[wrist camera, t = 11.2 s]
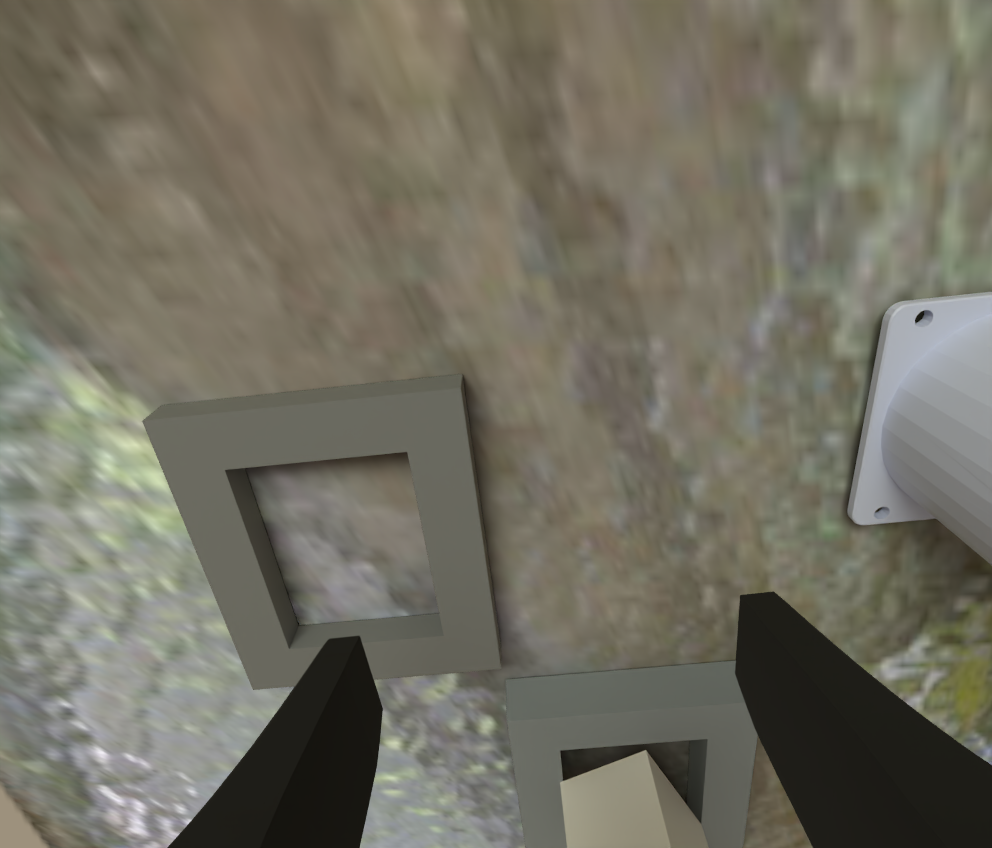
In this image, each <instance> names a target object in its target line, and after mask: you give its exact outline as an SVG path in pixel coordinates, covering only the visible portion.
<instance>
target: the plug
mask: <svg viewBox="0 0 992 848" xmlns="http://www.w3.org/2000/svg"><path fill="white" fill-rule="evenodd" d="M560 787H561V796H562V805H563V815H564V824H565V833H566V842H567V848H709V847H708V844H707V840H706V837H705V834H704V831H703V828H702V825H701V823H700V822H699V821H698V819H697V818H696V817H695V815H694V814H693V813H692V811H691V810H690V808H689V807H688V806H687V804H686V803H685V802H684V800H683V799H682V798H681V796H680V795H679V794H678V792H677V791H676V790H675V788H674V787H673V786H672V784H671V783H670V782H669V780H668V779H667V778H666V776H665V775H664V774H663V772H662V771H661V770H660V768H659V767H658V765H657V764H656V763H655V761H654V760H653V759H652V757H651V756H650V755H649V753H648V752H647V751H646V750H645V751H642V752H639V753H637V754H634V755H631V756H629V757H626V758H623V759H621V760H618V761H615V762H613V763H610V764H607V765H605V766H602V767H599V768H597V769H594V770H591V771H589V772H586V773H584V774H581V775H578V776H576V777H573V778H570V779H568V780H565V781H562V782H560Z"/></svg>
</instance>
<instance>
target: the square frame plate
mask: <svg viewBox="0 0 992 848" xmlns="http://www.w3.org/2000/svg"><path fill="white" fill-rule="evenodd" d="M142 422H143V424H144V426H145V429H146V431H147V434H148V436H149V438H150V441H151V443H152V446H153V448H154V451H155V453H156V455H157V458H158V460H159V463H160V465H161V468H162V470H163V472H164V475H165V477H166V480H167V482H168V485H169V487H170V489H171V492H172V494H173V497H174V499H175V502H176V504H177V506H178V509H179V511H180V514H181V516H182V518H183V521H184V523H185V526H186V528H187V531H188V533H189V535H190V538H191V540H192V543H193V545H194V548H195V550H196V552H197V555H198V557H199V560H200V562H201V565H202V567H203V569H204V572H205V574H206V577H207V579H208V582H209V584H210V586H211V589H212V591H213V594H214V596H215V598H216V601H217V603H218V606H219V608H220V611H221V613H222V615H223V618H224V620H225V623H226V625H227V628H228V630H229V632H230V635H231V637H232V640H233V642H234V645H235V647H236V649H237V652H238V654H239V657H240V659H241V662H242V664H243V666H244V669H245V671H246V674H247V676H248V678H249V681H250V683H251V686H252V688H253V690H256V689H268V688H280V687H292V686H296V684H297V683H298V681H299V680H300V679H301V677H302V676H303V674H304V673H305V671H306V670H307V668H308V667H309V665H310V664H311V663H312V661H313V660H314V658H315V657H316V655H317V654H318V652H319V651H320V650H321V648H322V647H323V645H324V644H325V643H326V641H327V640H328V639H331V638H340V637H350V636H359V635H360V638H361V641H362V644H363V647H364V651H365V654H366V657H367V660H368V663H369V667H370V670H371V673H372V676H373V679H374V680H375V679H387V678H399V677H411V676H423V675H435V674H447V673H459V672H471V671H483V670H495V669H501V643H500V636H499V629H498V622H497V615H496V608H495V601H494V593H493V586H492V579H491V572H490V565H489V558H488V551H487V544H486V537H485V530H484V523H483V516H482V509H481V502H480V495H479V488H478V481H477V474H476V466H475V459H474V452H473V445H472V438H471V431H470V424H469V417H468V410H467V403H466V396H465V389H464V382H463V375H462V374H457V375H448V376H438V377H429V378H419V379H409V380H400V381H390V382H381V383H371V384H361V385H352V386H342V387H333V388H323V389H313V390H304V391H294V392H285V393H275V394H265V395H256V396H246V397H236V398H227V399H217V400H208V401H198V402H188V403H179V404H169V405H162V406H160V407H159V408H158V409H157V410H155V411H154V412H153V413H151V414H150V415H149V416H148V417H146V418H145V419H144V420H143V421H142ZM401 452H407V454H408V459H409V464H410V469H411V474H412V479H413V484H414V489H415V494H416V499H417V504H418V509H419V514H420V519H421V524H422V529H423V534H424V540H425V545H426V550H427V555H428V560H429V565H430V570H431V575H432V580H433V585H434V590H435V595H436V600H437V605H438V610H439V614H428V615H416V616H405V617H394V618H382V619H371V620H359V621H348V622H337V623H325V624H314V625H302V626H298V623H297V620H296V618H295V615H294V612H293V609H292V606H291V603H290V600H289V597H288V594H287V591H286V588H285V585H284V582H283V579H282V576H281V574H280V571H279V568H278V565H277V562H276V559H275V556H274V553H273V550H272V547H271V544H270V541H269V538H268V535H267V532H266V530H265V527H264V524H263V521H262V518H261V515H260V512H259V509H258V506H257V503H256V500H255V497H254V494H253V491H252V489H251V486H250V483H249V480H248V477H247V474H246V471H245V468H249V467H259V466H270V465H280V464H290V463H300V462H310V461H320V460H330V459H340V458H350V457H360V456H371V455H381V454H391V453H401Z"/></svg>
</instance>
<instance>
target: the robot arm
mask: <svg viewBox="0 0 992 848" xmlns="http://www.w3.org/2000/svg"><path fill="white" fill-rule="evenodd" d="M921 311H924V316H923V318H922V319H921V320H920V321H919V322H917V323H915V318H916V316H917V315H918V314H919V313H920V312H921ZM880 507H882V509H881V510H879V511H878V512H875V511H876V510H877V509H878V508H880ZM847 512H848V516H849V517H850V518H851V519H852V520H853V522H854V523H856V524H858V525H872V524H883V523H894V522H905V521H916V520H927V519H937V520H938V521H939V522H941V523H942V524H943V525H944V526H945V527H947V528H948V529H949V530H950V531H951V532H953V533H954V534H955V535H956V536H957V537H959V538H960V539H961V540H962V541H963V542H964V543H966V544H967V545H968V546H969V547H970V548H972V549H973V550H974V551H975V552H976V553H978V554H979V555H980V556H981V557H982V558H983V559H985V560H986V561H987V562H988V563H989V564H991V565H992V292H984V293H975V294H965V295H956V296H946V297H937V298H928V299H918V300H909V301H901V302H898V303H895V304H894V305H892V306H891V307H890V308H889V309H888V310H887V311H886V313H885V315H884V317H883V321H882V326H881V332H880V337H879V342H878V348H877V353H876V359H875V364H874V369H873V375H872V380H871V386H870V391H869V396H868V402H867V407H866V412H865V418H864V423H863V429H862V434H861V439H860V445H859V450H858V456H857V461H856V466H855V472H854V477H853V483H852V488H851V493H850V499H849V504H848V509H847ZM735 675H736V678H737V681H738V684H739V687H740V689H741V692H742V695H743V698H744V701H745V704H746V706H747V709H748V712H749V714H750V717H751V720H752V722H753V725H754V728H755V730H756V732H757V734H758V736H759V738H760V741H761V743H762V745H763V747H764V749H765V751H766V753H767V755H768V757H769V759H770V761H771V763H772V765H773V767H774V769H775V771H776V773H777V775H778V777H779V779H780V781H781V783H782V786H783V788H784V790H785V792H786V794H787V796H788V798H789V800H790V802H791V804H792V806H793V808H794V810H795V812H796V814H797V816H798V818H799V820H800V822H801V824H802V826H803V828H804V830H805V832H806V834H807V836H808V838H809V840H810V842H811V844H812V846H813V848H992V765H991V764H989V763H988V762H986V761H985V760H983V759H982V758H980V757H979V756H977V755H976V754H974V753H973V752H971V751H970V750H969V749H967V748H966V747H964V746H963V745H961V744H960V743H959V742H957V741H956V740H954V739H953V738H952V737H950V736H949V735H948V734H946V733H945V732H943V731H942V730H941V729H940V728H938V727H937V726H936V725H934V724H933V723H932V722H930V721H929V720H928V719H926V718H925V717H924V716H922V715H921V714H920V713H918V712H917V711H916V710H914V709H913V708H912V707H910V706H909V705H908V704H907V703H905V702H904V701H903V700H901V699H900V698H899V697H898V696H896V695H895V694H894V693H893V692H891V691H890V690H889V689H888V688H886V687H885V686H884V685H883V684H881V683H880V682H879V681H878V680H877V679H875V678H874V677H873V676H872V675H870V674H869V673H868V672H867V671H866V670H864V669H863V668H862V667H861V666H859V665H858V664H857V663H856V662H855V661H853V660H852V659H851V658H850V657H849V656H847V655H846V654H845V653H844V652H843V651H841V650H840V649H839V648H838V647H837V646H836V645H835V644H833V643H832V642H831V641H830V640H829V639H828V638H826V637H825V636H824V635H823V634H822V633H821V632H819V631H818V630H817V629H816V628H815V627H814V626H813V625H811V624H810V623H809V622H808V621H807V620H806V619H805V618H804V617H802V616H801V615H800V614H799V613H798V612H797V611H796V610H794V609H793V608H792V607H791V606H790V605H789V604H788V603H786V602H785V601H784V600H783V599H782V598H781V597H780V596H778V595H777V594H776V593H775V592H766V593H756V594H747V595H740V606H739V621H738V636H737V651H736V665H735ZM382 711H383V708H382V705H381V702H380V698H379V695H378V692H377V689H376V686H375V683H374V679H373V676H372V673H371V670H370V667H369V663H368V660H367V657H366V654H365V651H364V647H363V644H362V641H361V638H360V635H359V636H350V637H340V638H331V639H328V640H327V641H326V643H325V644H324V645H323V647H322V648H321V650H320V651H319V652H318V654H317V655H316V657H315V658H314V660H313V661H312V663H311V664H310V665H309V667H308V668H307V670H306V671H305V673H304V674H303V676H302V677H301V679H300V680H299V681H298V683H297V684H296V686H295V687H294V689H293V690H292V691H291V693H290V694H289V696H288V697H287V699H286V700H285V701H284V703H283V704H282V706H281V707H280V708H279V710H278V711H277V713H276V714H275V715H274V717H273V718H272V719H271V721H270V722H269V723H268V725H267V726H266V728H265V729H264V730H263V732H262V733H261V734H260V736H259V737H258V738H257V740H256V741H255V743H254V744H253V745H252V747H251V748H250V749H249V750H248V752H247V753H246V754H245V756H244V757H243V758H242V759H241V761H240V762H239V763H238V764H237V766H236V767H235V768H234V769H233V771H232V772H231V773H230V774H229V776H228V777H227V778H226V780H225V781H224V782H223V783H222V785H221V786H220V787H219V788H218V790H217V791H216V792H215V793H214V795H213V796H212V797H211V798H210V799H209V801H208V802H207V803H206V804H205V805H204V807H203V808H202V809H201V810H200V811H199V812H198V814H197V815H196V816H195V817H194V818H193V820H192V821H191V822H190V823H189V824H188V825H187V826H186V828H185V829H184V830H183V831H182V832H181V833H180V834H179V835H178V837H177V838H176V839H175V840H174V841H173V842H172V843H171V844H170V845H169V847H168V848H360V843H361V838H362V834H363V829H364V825H365V820H366V815H367V811H368V806H369V801H370V797H371V792H372V787H373V782H374V777H375V772H376V768H377V760H378V752H379V743H380V733H381V722H382Z"/></svg>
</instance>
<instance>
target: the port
mask: <svg viewBox="0 0 992 848" xmlns="http://www.w3.org/2000/svg"><path fill="white" fill-rule="evenodd" d="M735 665H736V661H724V662H711V663H699V664H687V665H675V666H663V667H651V668H639V669H627V670H615V671H603V672H591V673H578V674H566V675H554V676H542V677H530V678H518V679H506V709H507V726H508V733H509V740H510V746H511V753H512V760H513V767H514V774H515V780H516V787H517V794H518V801H519V808H520V814H521V821H522V828H523V835H524V842H525V848H567V842H566V833H565V824H564V815H563V805H562V796H561V787H560V782H562V781H563V776H562V765H561V754H560V750H572V749H585V748H598V747H611V746H624V745H637V744H650V743H663V742H675V741H688V740H690V749H689V767H688V785H687V803H686V804H687V806H688V807H689V808H690V810H691V811H692V813H693V814H694V815H695V817H696V818H697V819H698V821H699V822H700V823H701V825H702V828H703V831H704V834H705V837H706V840H707V844H708V847H709V848H743V843H744V836H745V828H746V820H747V813H748V805H749V798H750V790H751V783H752V775H753V767H754V760H755V752H756V745H757V737H758V734H757V732H756V730H755V728H754V725H753V722H752V720H751V717H750V714H749V712H748V709H747V706H746V704H745V701H744V698H743V695H742V692H741V689H740V687H739V684H738V681H737V678H736V675H735Z"/></svg>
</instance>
